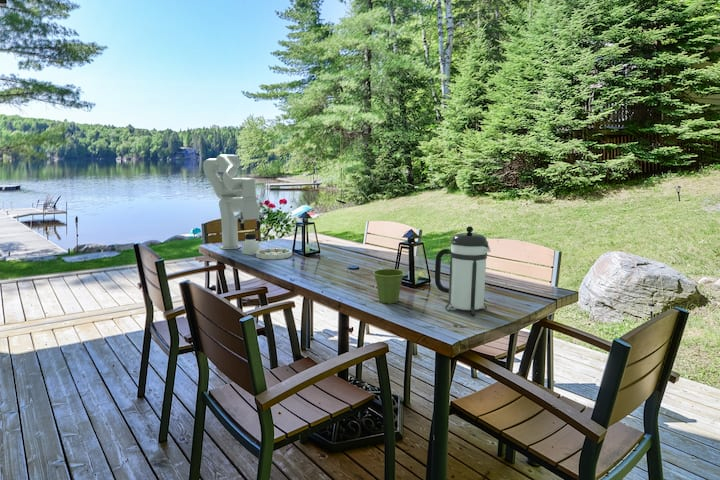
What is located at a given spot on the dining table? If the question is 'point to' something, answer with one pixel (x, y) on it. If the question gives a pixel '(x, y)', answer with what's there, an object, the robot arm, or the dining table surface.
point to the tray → (273, 253)
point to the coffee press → (465, 271)
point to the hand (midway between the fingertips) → (250, 229)
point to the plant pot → (388, 284)
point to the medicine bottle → (250, 244)
